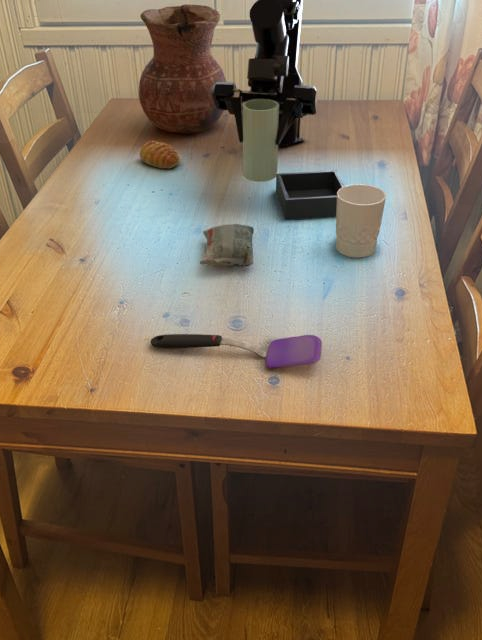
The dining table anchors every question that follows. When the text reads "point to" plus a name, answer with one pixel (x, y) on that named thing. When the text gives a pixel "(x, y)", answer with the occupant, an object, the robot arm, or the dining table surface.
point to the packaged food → (229, 246)
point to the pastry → (159, 155)
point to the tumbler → (260, 139)
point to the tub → (308, 194)
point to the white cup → (358, 219)
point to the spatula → (252, 347)
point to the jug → (181, 69)
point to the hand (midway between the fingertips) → (258, 143)
